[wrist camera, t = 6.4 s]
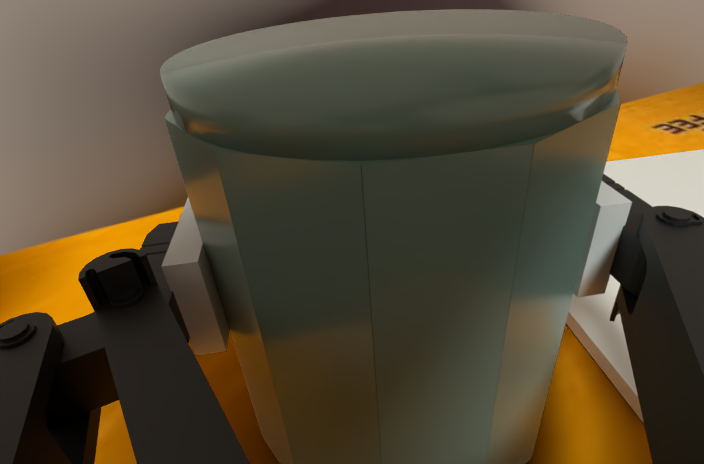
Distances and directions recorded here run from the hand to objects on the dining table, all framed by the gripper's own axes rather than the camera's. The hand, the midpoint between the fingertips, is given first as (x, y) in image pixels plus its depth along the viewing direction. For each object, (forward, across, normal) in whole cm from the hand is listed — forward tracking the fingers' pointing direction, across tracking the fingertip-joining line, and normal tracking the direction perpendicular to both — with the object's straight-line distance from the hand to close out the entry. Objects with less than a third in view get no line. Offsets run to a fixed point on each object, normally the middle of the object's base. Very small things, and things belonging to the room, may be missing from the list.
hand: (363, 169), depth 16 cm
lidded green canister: (-5, 0, -6) cm, 8 cm away
